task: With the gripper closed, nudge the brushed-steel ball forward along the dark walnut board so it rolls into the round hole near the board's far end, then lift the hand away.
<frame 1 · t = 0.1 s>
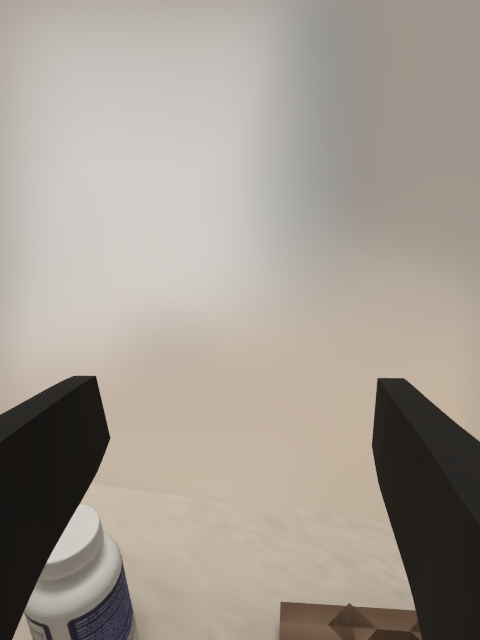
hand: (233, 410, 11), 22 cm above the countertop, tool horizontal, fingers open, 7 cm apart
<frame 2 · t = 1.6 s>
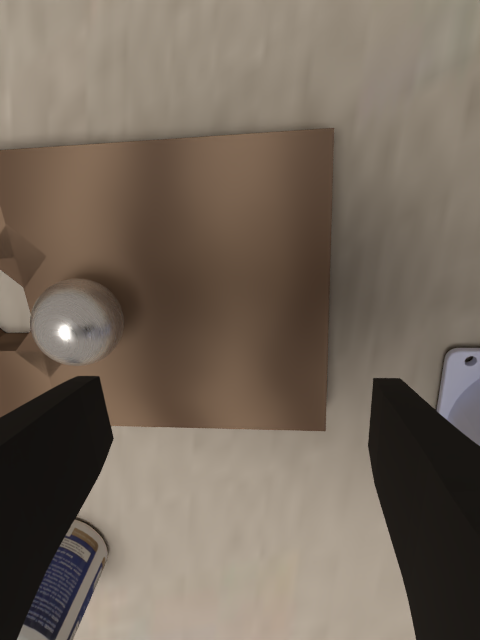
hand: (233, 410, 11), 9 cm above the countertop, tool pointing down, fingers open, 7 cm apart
pill bottle: (73, 539, 28), on the countertop
steel ball: (78, 322, 17), point 4 cm above the countertop, touching walnut board
walnut board: (124, 290, 20), on the countertop
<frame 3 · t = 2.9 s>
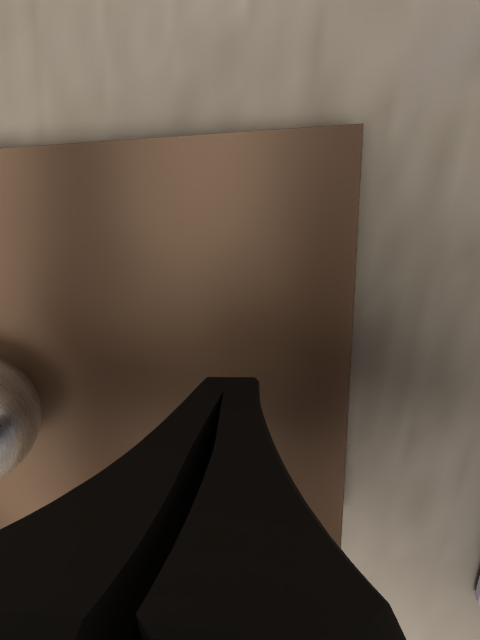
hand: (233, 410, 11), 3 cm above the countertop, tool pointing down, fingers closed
walnut board: (58, 353, 14), on the countertop
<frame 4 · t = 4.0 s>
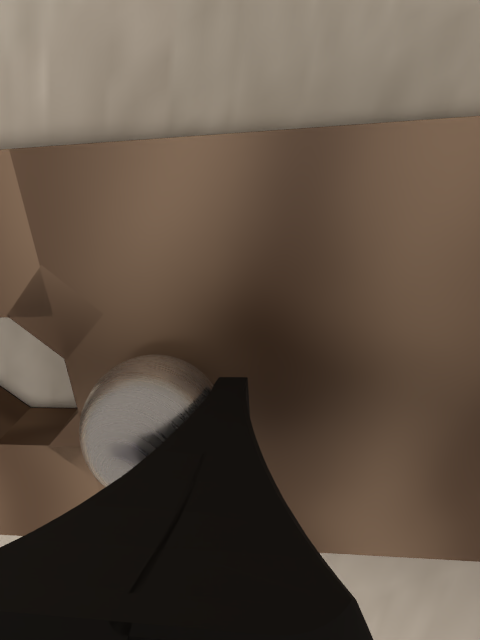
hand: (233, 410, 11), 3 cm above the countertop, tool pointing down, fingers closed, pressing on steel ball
steel ball: (154, 425, 10), point 4 cm above the countertop, tilted 6°, touching gripper, walnut board
walnut board: (208, 353, 14), on the countertop
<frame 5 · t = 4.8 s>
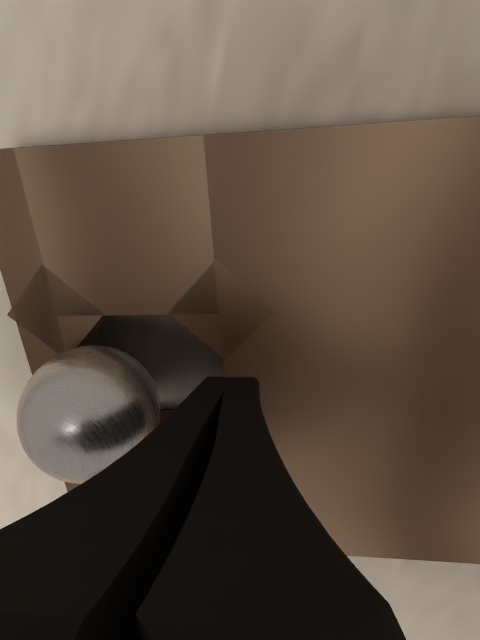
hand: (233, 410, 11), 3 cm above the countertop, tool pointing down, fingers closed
steel ball: (92, 412, 11), point 3 cm above the countertop, tilted 173°, touching walnut board
walnut board: (353, 354, 13), on the countertop
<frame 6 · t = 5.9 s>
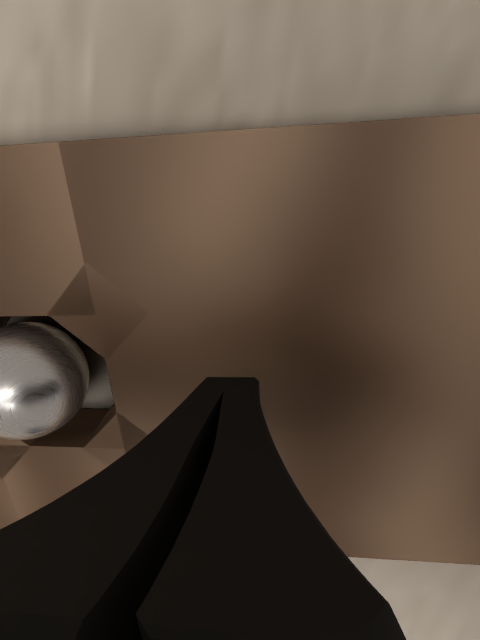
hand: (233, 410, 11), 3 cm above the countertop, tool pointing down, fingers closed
steel ball: (27, 379, 12), point 2 cm above the countertop, tilted 142°
walnut board: (247, 353, 13), on the countertop
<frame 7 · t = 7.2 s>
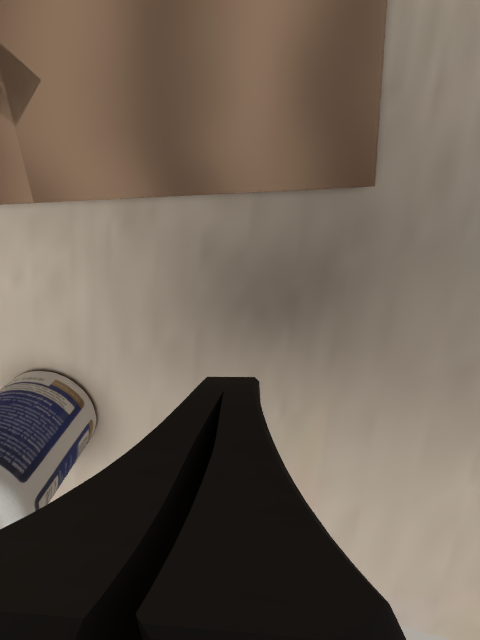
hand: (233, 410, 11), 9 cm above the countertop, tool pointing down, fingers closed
pill bottle: (55, 406, 24), on the countertop
walnut board: (112, 10, 15), on the countertop
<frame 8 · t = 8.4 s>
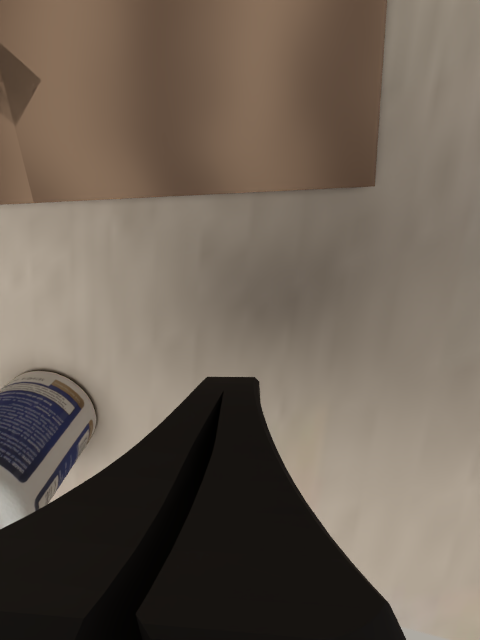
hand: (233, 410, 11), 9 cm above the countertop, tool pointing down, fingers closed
pill bottle: (55, 406, 24), on the countertop
walnut board: (112, 10, 15), on the countertop
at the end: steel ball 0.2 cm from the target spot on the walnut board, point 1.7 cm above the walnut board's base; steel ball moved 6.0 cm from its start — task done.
